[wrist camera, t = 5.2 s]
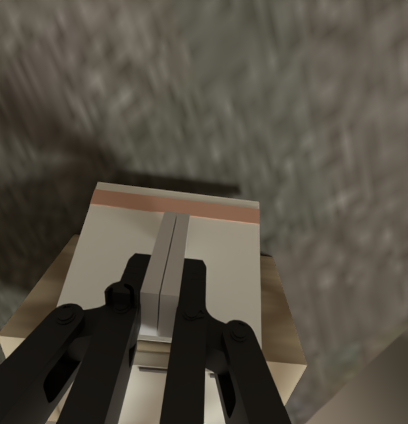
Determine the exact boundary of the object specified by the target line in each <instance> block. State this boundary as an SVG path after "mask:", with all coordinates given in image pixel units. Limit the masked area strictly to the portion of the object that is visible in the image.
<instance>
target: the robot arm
mask: <svg viewBox="0 0 408 424" xmlns="http://www.w3.org/2000/svg"><path fill="white" fill-rule="evenodd" d="M189 219H190V214H185V213H178V214H177V213H176V212H168V211H165V212H164V215H163V219H162V222H161V225H160V228H159V232H158V235H157V238H156V242H155V245H154V248H153V252H152V255H149V254H140V253H135V254H134V255H133V256H132V257H130V258H129V260H128V262H127V265H126V268H125V270H124V273H123V275H122V277H121V279H120V281H118V282H115V283H112V284H111V285H109V286H108V287H107V288H106V290H105V291H104V294H105V305H103V306H101V307H97V308H92V309H86V310H83V309H82V307H81V306H79V305H78V304H73V303H68V304H63V305H61V306H58V307H56V308H55V309H54V310H53V311H51V312H50V313H49V314H48V315H47V316H46V317H45V319H44V320H43V321H42V322H41V323H40V324H39V325H38V326H37V327H36V328H35V329H34V330H33V331H32V332H31V333H30V334H29V335H28V336H27V337H26V338H25V340H24V341H23V342H22V343H21V344H20V345H19V346H18V347H17V348H16V349H15V350H14V351H13V352H12V353H11V354H10V355H9V356H8V357H7V358H6V359H5V361H4V362H3V363H2V364H1V365H0V424H45V423H46V421H47V420H48V418H49V417H50V415H51V414H52V412H53V411H54V409H55V408H56V406H57V405H58V403H59V402H60V400H61V399H62V397H63V396H64V395H65V393H66V392H67V390H68V389H69V387H70V386H71V384H72V383H73V384H72V387H71V389H70V391H69V394H68V396H67V398H66V401H65V403H64V406H63V408H62V410H61V413H60V415H59V418H58V420H57V422H56V424H118V422H119V418H120V414H121V410H122V406H123V402H124V398H125V394H126V390H127V386H128V382H129V378H130V374H131V370H132V366H133V362H134V358H135V354H136V350H137V339H138V335H139V331H140V335H148V336H157V331H158V337H168V338H172V341H171V348H170V355H169V361H168V368H167V375H166V382H165V388H164V395H163V402H162V409H161V415H160V422H159V424H204V406H205V368H206V369H208V370H210V371H212V372H214V376H215V380H216V385H217V389H218V393H219V398H220V402H221V406H222V411H223V415H224V419H225V423H226V424H291V421H290V419H289V416H288V414H287V411H286V409H285V407H284V404H283V402H282V399H281V397H280V394H279V392H278V389H277V387H276V384H275V382H274V380H273V377H272V375H271V372H270V370H269V367H268V365H267V362H266V360H265V357H264V355H263V353H262V350H261V348H260V345H259V343H258V340H257V338H256V335H255V333H254V331H253V329H252V328H251V326H249V325H248V324H247V323H246V322H243V321H241V320H231V321H228V322H227V323H224V322H221V321H219V320H217V319H215V318H213V317H212V316H211V315H210V314H209V313H208V311H207V309H206V268H207V267H206V265H205V263H204V261H203V260H198V259H189V258H185V253H186V245H187V236H188V228H189ZM73 381H74V382H73Z"/></svg>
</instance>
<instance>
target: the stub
mask: <svg viewBox="0 0 408 424" xmlns="http://www.w3.org/2000/svg"><path fill="white" fill-rule="evenodd" d="M165 211H168V212H176V213H177V214H178V213H185V214H190V219H189V228H188V236H187V245H186V253H185V258H189V259H198V260H203V261H204V263H205V265H206V267H207V268H206V309H207V311H208V313H209V314H210V315H211V316H212V317H213V318H215V319H217V320H219V321H221V322H224V323H227V322H228V321H231V320H241V321H243V322H246V323H247V324H248V325H249V326H251V328H252V329H253V331H254V333H255V335H256V338H257V340H258V343H259V345H260V348H261V350H262V342H261V286H260V231H259V224H260V209H259V202H256V201H248V200H240V199H232V198H224V197H216V196H208V195H200V194H192V193H184V192H176V191H168V190H160V189H152V188H144V187H136V186H128V185H120V184H112V183H104V182H98V183H97V186H96V189H95V190H94V193H93V196H92V199H91V202H90V207H89V210H88V213H87V216H86V219H85V222H84V225H83V228H82V231H81V234H80V237H79V240H78V243H77V246H76V249H75V252H74V255H73V258H72V261H71V264H70V267H69V271H68V274H67V277H66V280H65V283H64V286H63V289H62V292H61V295H60V298H59V301H58V304H57V307H58V306H61V305H63V304H68V303H73V304H78V305H79V306H81V307H82V309H83V310H86V309H92V308H97V307H101V306H103V305H105V294H104V291H105V290H106V288H107V287H108V286H109V285H111V284H112V283H115V282H118V281H120V279H121V277H122V275H123V273H124V270H125V268H126V265H127V262H128V260H129V258H130V257H132V256H133V255H134V254H135V253H140V254H149V255H152V252H153V248H154V245H155V242H156V238H157V235H158V232H159V228H160V225H161V222H162V219H163V215H164V212H165ZM138 340H149V341H159V342H169V343H171V341H172V338H168V337H158V331H157V336H148V335H140V331H139V335H138Z"/></svg>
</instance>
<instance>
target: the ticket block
mask: <svg viewBox="0 0 408 424" xmlns="http://www.w3.org/2000/svg"><path fill="white" fill-rule="evenodd" d="M79 237H80V235H76V234H74V235H73V237H72V238H71V239H70V241H69V242H68V243H67V244H66V246H65V247H64V248H63V250H62V251H61V252H60V254H59V255H58V256H57V258H56V259H55V260H54V262H53V263H52V264H51V266H50V267H49V268H48V269H47V271H46V272H45V273H44V275H43V276H42V277H41V279H40V280H39V281H38V283H37V284H36V285H35V287H34V288H33V289H32V291H31V292H30V293H29V295H28V296H27V297H26V298H25V300H24V301H23V302H22V304H21V305H20V306H19V308H18V309H17V310H16V312H15V313H14V314H13V316H12V317H11V318H10V320H9V321H8V322H7V323H6V325H5V326H4V327H3V329H2V330H1V331H0V344H1V347H2V349H3V351H4V354H5V356H6V358H7V357H8V356H9V355H10V354H11V353H12V352H13V351H14V350H15V349H16V348H17V347H18V346H19V345H20V344H21V343H22V342H23V341H24V340H25V338H26V337H27V336H28V335H29V334H30V333H31V332H32V331H33V330H34V329H35V328H36V327H37V326H38V325H39V324H40V323H41V322H42V321H43V320H44V319H45V317H46V316H47V315H48V314H49V313H50V312H51V311H53V310H54V309H55V308H56V307H57V304H58V301H59V298H60V295H61V292H62V289H63V286H64V283H65V280H66V277H67V274H68V271H69V267H70V264H71V261H72V258H73V255H74V252H75V249H76V246H77V243H78V240H79ZM260 286H261V342H262V353H263V355H264V357H265V360H266V362H267V365H268V367H269V370H270V372H271V375H272V377H273V380H274V382H275V384H276V387H277V389H278V392H279V394H280V397H281V399H282V402H283V404H284V406H285V404H286V402H287V400H288V398H289V397H290V395H291V393H292V391H293V390H294V388H295V386H296V384H297V382H298V381H299V379H300V377H301V375H302V373H303V372H304V370H305V368H306V366H307V363H306V360H305V357H304V354H303V350H302V347H301V344H300V341H299V338H298V335H297V331H296V328H295V325H294V322H293V319H292V316H291V312H290V309H289V306H288V303H287V300H286V297H285V294H284V290H283V287H282V284H281V281H280V278H279V275H278V271H277V268H276V265H275V262H274V259H273V257H268V256H260ZM170 348H171V343H169V342H159V341H149V340H138V339H137V350H136V354H135V358H134V362H133V366H132V370H131V374H130V378H129V382H128V386H127V390H126V394H125V398H124V402H123V406H122V410H121V414H120V418H119V422H118V424H159V422H160V415H161V409H162V402H163V395H164V388H165V382H166V375H167V368H168V361H169V355H170ZM73 382H74V381H73ZM72 384H73V383H72ZM72 384H71V386H70V387H69V389H68V390H67V392H66V393H65V395H64V396H63V397H62V399H61V400H60V402H59V403H58V405H57V406H56V408H55V409H54V411H53V412H52V414H51V415H50V417H49V418H48V420H47V421H57V420H58V418H59V415H60V413H61V410H62V408H63V406H64V403H65V401H66V398H67V396H68V394H69V391H70V389H71V387H72ZM204 424H226V423H225V419H224V415H223V411H222V406H221V402H220V398H219V393H218V389H217V385H216V380H215V376H214V372H212V371H210V370H208V369H206V368H205V406H204Z"/></svg>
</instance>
